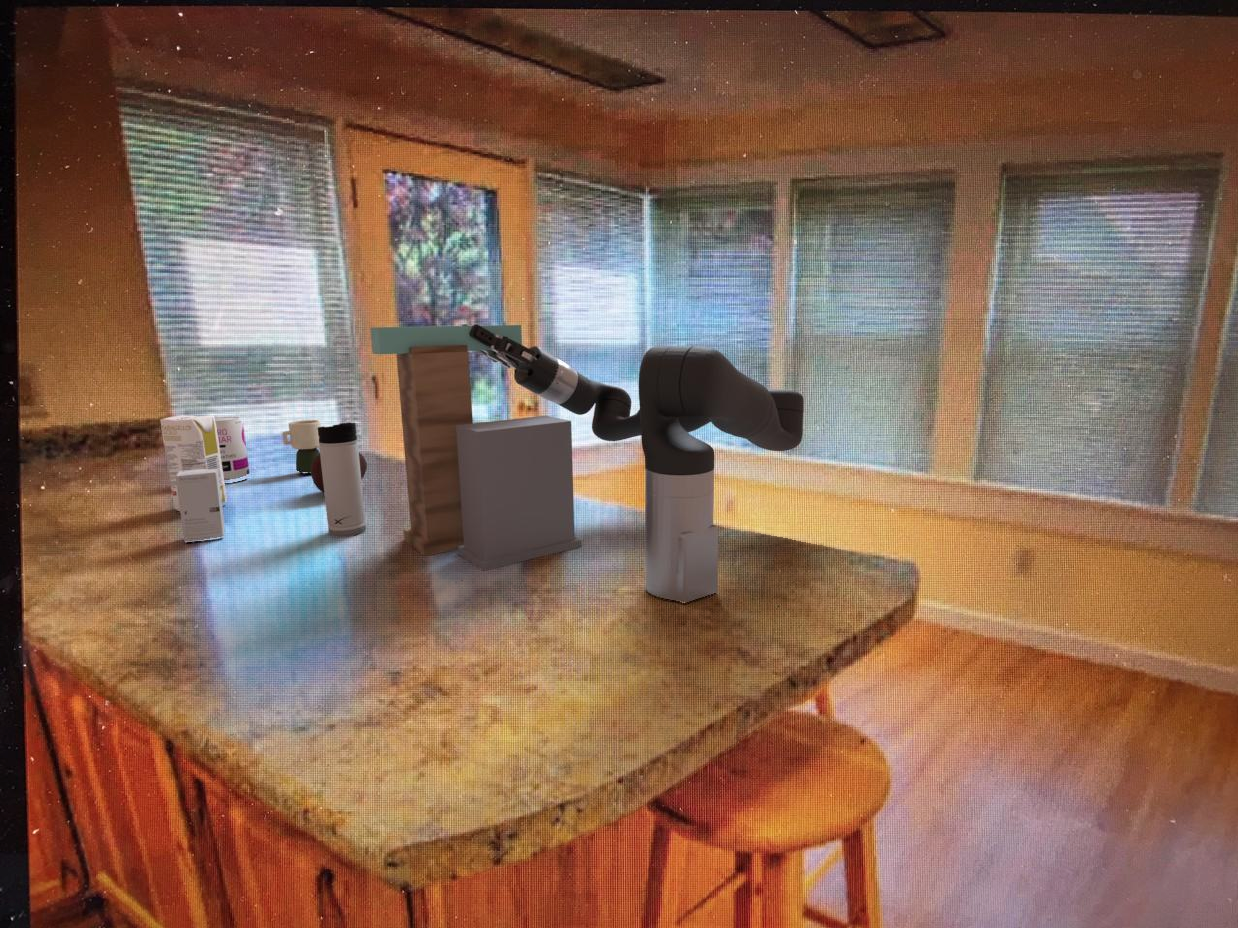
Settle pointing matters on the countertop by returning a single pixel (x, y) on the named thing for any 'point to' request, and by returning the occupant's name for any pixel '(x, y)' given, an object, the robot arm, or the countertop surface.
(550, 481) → the charcoal pedestal
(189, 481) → the skincare box
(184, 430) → the juice carton
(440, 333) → the teal bar
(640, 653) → the countertop surface
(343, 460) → the travel mug
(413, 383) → the walnut stand
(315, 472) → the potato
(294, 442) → the character mug
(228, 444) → the supplement can
